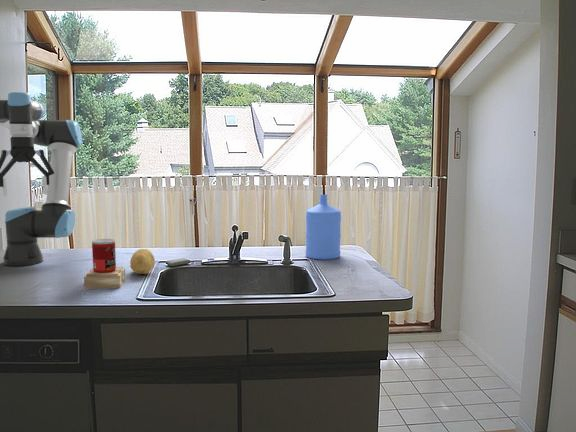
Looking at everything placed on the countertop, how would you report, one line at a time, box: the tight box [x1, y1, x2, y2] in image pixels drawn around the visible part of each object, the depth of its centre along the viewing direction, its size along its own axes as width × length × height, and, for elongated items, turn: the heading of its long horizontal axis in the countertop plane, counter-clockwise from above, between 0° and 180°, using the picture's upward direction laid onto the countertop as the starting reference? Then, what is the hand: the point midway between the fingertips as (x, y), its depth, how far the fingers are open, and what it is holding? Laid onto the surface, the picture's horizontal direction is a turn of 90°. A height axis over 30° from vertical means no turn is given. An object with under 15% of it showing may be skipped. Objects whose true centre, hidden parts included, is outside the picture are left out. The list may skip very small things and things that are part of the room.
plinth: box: [83, 266, 126, 290], centre depth 198 cm, size 12×12×5 cm
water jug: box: [305, 194, 342, 261], centre depth 246 cm, size 16×16×28 cm
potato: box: [129, 248, 156, 275], centre depth 214 cm, size 10×14×10 cm
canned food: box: [91, 238, 117, 273], centre depth 197 cm, size 8×8×11 cm
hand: (25, 195), depth 200 cm, fingers open, 13 cm apart
